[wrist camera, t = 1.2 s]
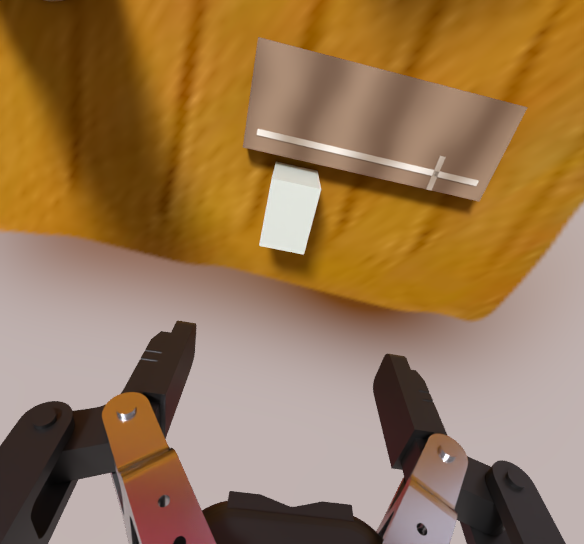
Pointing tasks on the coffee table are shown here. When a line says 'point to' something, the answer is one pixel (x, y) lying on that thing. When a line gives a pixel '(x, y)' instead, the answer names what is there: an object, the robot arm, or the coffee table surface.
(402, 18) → the coffee table surface
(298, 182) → the block
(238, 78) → the coffee table surface
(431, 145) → the bronze metal plate
